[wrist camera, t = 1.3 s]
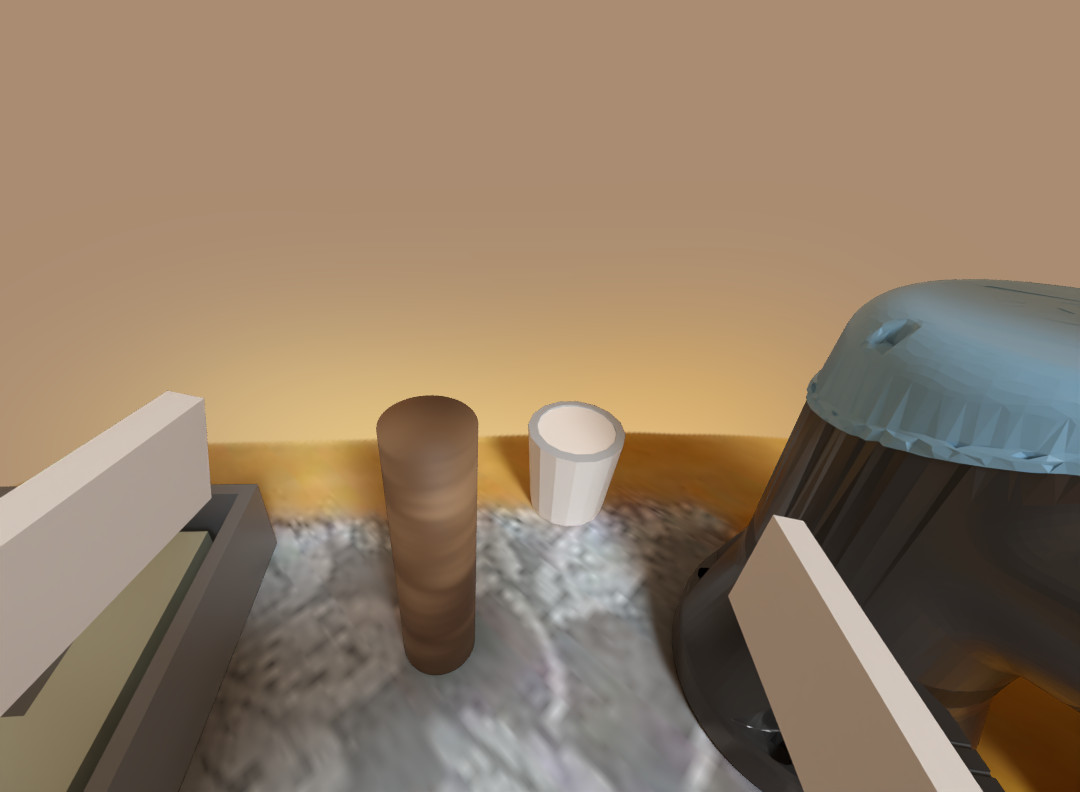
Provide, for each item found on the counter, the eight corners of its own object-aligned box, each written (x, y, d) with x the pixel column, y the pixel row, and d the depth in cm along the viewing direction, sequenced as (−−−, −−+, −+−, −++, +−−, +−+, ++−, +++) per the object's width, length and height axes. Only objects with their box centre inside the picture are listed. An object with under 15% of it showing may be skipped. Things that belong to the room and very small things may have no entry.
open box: (276, 543, 34) (257, 484, 31) (131, 908, 20) (69, 868, 17) (-21, 550, 32) (-74, 487, 29) (-425, 968, 18) (-618, 934, 14)
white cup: (504, 491, 40) (508, 420, 36) (567, 456, 44) (577, 389, 40) (564, 548, 36) (577, 476, 32) (627, 504, 40) (646, 435, 36)
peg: (474, 607, 32) (478, 396, 22) (474, 672, 28) (478, 457, 19) (408, 609, 31) (384, 395, 22) (400, 677, 28) (368, 457, 19)
